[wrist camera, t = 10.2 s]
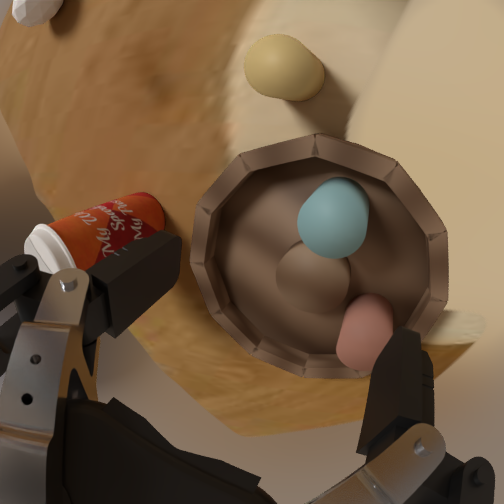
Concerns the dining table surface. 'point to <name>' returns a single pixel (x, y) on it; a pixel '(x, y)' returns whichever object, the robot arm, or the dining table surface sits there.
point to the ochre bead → (283, 68)
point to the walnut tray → (272, 227)
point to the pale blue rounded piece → (334, 218)
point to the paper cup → (94, 233)
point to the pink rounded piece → (364, 331)
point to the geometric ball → (35, 11)
